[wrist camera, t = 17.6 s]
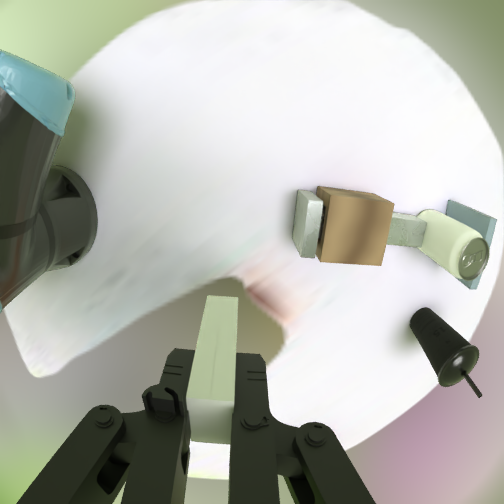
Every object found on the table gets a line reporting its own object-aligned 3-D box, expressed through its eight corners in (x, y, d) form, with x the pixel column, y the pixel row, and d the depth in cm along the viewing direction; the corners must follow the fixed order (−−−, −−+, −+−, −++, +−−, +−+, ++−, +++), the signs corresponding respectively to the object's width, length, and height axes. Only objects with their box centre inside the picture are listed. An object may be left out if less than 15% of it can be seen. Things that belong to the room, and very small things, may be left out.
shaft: (292, 238, 39) (300, 257, 32) (298, 189, 36) (308, 200, 30) (406, 247, 39) (429, 265, 33) (415, 205, 37) (441, 218, 31)
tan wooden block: (309, 243, 39) (320, 262, 34) (317, 186, 36) (330, 194, 31) (363, 248, 40) (381, 265, 34) (373, 193, 37) (394, 203, 31)
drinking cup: (443, 316, 45) (503, 386, 26) (413, 343, 47) (463, 421, 28) (429, 292, 43) (498, 365, 24) (396, 321, 45) (452, 406, 26)
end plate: (434, 260, 41) (469, 289, 31) (448, 199, 37) (490, 217, 28) (440, 261, 41) (476, 289, 31) (455, 201, 37) (496, 219, 28)
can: (409, 211, 38) (458, 238, 27) (443, 206, 38) (494, 230, 26) (409, 252, 40) (452, 289, 29) (441, 245, 40) (487, 278, 29)
